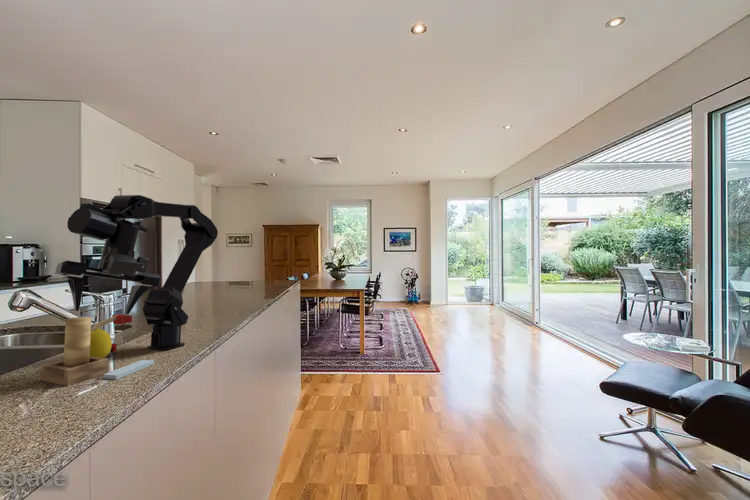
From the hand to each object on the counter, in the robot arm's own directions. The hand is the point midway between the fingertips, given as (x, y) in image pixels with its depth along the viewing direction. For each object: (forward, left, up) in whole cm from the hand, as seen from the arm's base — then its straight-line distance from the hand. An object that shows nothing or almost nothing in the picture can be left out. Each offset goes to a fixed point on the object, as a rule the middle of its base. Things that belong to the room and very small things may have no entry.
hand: (102, 312), depth 76 cm
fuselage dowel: (+6, +1, -11) cm, 13 cm away
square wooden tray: (+6, +1, -12) cm, 14 cm away
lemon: (-2, -4, -13) cm, 13 cm away
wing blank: (-1, +8, -12) cm, 14 cm away
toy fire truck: (-6, -9, -13) cm, 17 cm away
